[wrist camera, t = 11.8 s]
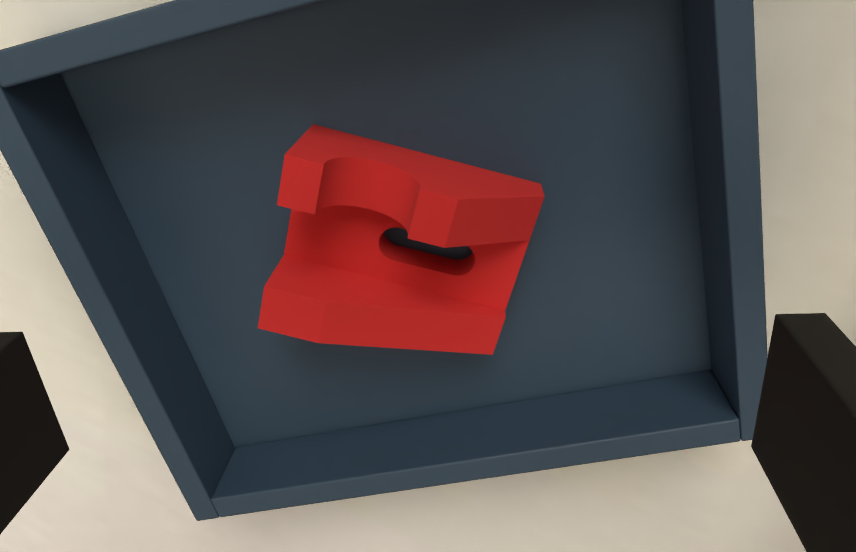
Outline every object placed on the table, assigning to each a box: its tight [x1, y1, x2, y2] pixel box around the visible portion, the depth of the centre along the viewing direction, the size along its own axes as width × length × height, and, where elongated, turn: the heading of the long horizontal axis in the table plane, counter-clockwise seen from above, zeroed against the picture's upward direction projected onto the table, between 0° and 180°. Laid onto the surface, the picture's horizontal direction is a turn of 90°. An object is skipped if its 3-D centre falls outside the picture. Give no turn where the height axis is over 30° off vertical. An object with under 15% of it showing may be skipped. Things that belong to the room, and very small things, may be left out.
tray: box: [0, 0, 767, 521], centre depth 18 cm, size 18×15×3 cm
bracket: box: [258, 124, 545, 355], centre depth 18 cm, size 6×5×3 cm
